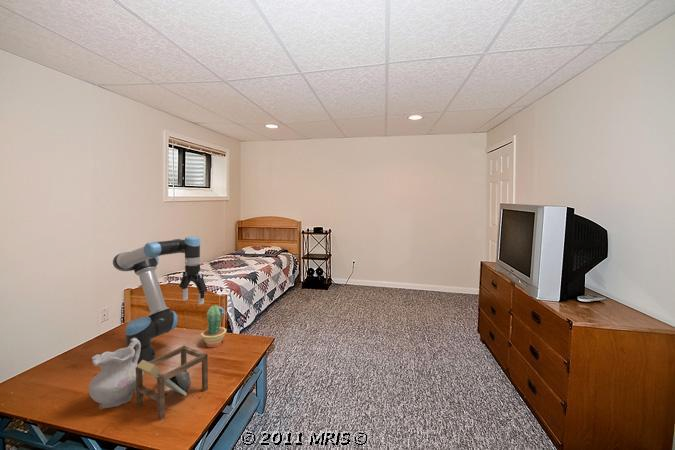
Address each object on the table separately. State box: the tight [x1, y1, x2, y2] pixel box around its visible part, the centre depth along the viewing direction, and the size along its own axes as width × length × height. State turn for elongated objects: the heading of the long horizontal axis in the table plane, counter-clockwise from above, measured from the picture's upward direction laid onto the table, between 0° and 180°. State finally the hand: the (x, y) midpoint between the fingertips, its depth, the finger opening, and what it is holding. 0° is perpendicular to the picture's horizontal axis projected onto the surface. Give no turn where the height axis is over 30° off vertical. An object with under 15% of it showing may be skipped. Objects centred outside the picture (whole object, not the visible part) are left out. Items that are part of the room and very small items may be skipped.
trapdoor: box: [137, 360, 188, 397], centre depth 126 cm, size 13×23×3 cm
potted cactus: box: [200, 304, 227, 348], centre depth 181 cm, size 15×15×25 cm
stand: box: [135, 345, 209, 421], centre depth 130 cm, size 18×23×18 cm
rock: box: [166, 371, 192, 393], centre depth 134 cm, size 13×9×6 cm
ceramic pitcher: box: [88, 337, 144, 410], centre depth 129 cm, size 22×20×25 cm
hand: (193, 302), depth 159 cm, fingers open, 13 cm apart
